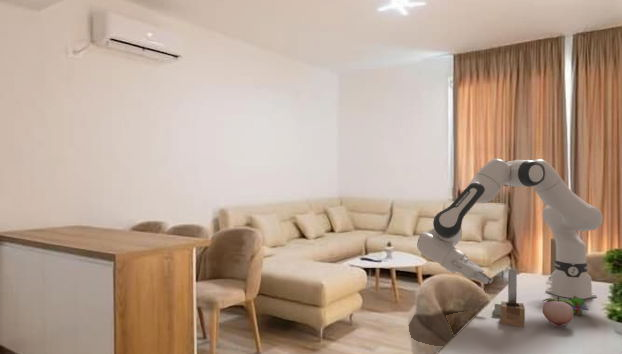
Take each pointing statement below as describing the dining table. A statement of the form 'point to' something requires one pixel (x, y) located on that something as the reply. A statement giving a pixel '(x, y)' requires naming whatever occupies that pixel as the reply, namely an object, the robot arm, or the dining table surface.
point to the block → (498, 306)
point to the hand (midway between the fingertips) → (489, 281)
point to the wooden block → (553, 255)
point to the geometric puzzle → (578, 305)
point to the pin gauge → (512, 287)
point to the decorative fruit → (558, 311)
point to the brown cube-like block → (513, 314)
